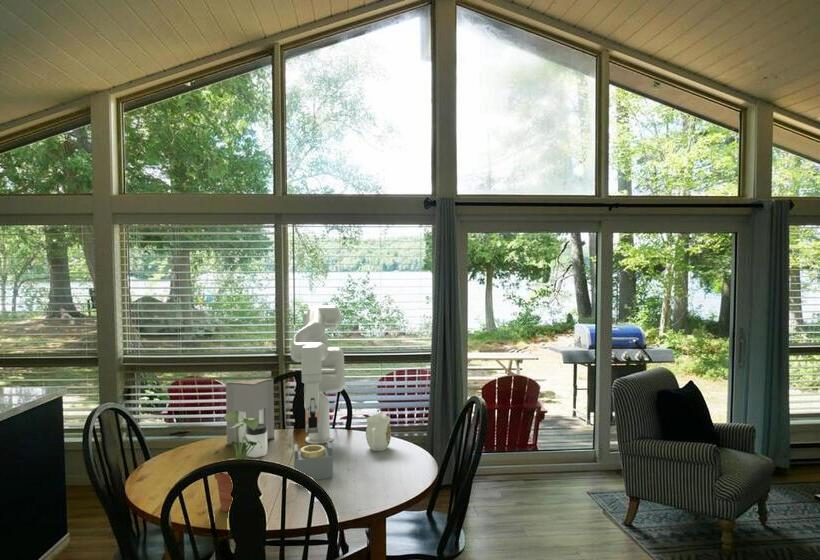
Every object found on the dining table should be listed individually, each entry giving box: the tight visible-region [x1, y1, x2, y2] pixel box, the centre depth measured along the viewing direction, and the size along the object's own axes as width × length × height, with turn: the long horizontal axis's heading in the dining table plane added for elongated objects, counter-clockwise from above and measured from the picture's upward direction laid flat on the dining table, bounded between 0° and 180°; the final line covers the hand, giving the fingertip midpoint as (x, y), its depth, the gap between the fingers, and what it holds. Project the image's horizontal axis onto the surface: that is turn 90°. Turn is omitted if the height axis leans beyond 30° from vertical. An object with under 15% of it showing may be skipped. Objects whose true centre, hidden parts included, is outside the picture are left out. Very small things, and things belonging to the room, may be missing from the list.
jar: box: [245, 424, 268, 459], centre depth 220 cm, size 9×8×12 cm
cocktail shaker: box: [304, 402, 319, 435], centre depth 196 cm, size 5×5×13 cm
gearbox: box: [293, 441, 334, 481], centre depth 196 cm, size 10×14×11 cm
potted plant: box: [214, 412, 261, 512], centre depth 171 cm, size 16×15×35 cm
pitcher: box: [365, 412, 392, 452], centre depth 224 cm, size 11×18×14 cm, turn 169°
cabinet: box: [225, 378, 275, 447], centre depth 234 cm, size 21×10×28 cm, turn 114°
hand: (312, 425), depth 196 cm, fingers closed on cocktail shaker, 5 cm apart
